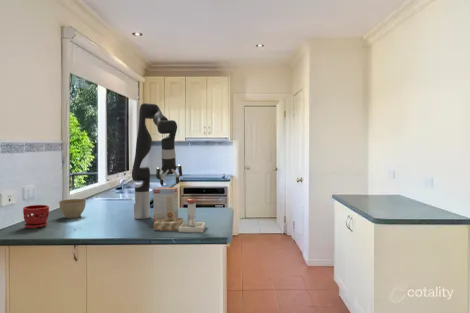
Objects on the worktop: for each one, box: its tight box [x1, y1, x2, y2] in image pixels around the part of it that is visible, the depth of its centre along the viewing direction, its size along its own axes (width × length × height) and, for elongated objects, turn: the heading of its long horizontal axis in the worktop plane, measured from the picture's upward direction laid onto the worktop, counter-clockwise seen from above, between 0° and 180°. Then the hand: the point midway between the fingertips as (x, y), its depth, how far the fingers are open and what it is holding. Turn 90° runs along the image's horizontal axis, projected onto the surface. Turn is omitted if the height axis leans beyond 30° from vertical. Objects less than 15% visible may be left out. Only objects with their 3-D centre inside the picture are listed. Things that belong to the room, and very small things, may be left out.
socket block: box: [153, 217, 184, 231], centre depth 201 cm, size 14×14×4 cm
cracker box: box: [153, 186, 179, 223], centre depth 217 cm, size 14×6×21 cm, turn 74°
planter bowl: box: [58, 198, 87, 219], centre depth 233 cm, size 16×16×11 cm
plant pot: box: [22, 204, 50, 229], centre depth 205 cm, size 13×13×12 cm
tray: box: [178, 221, 206, 233], centre depth 196 cm, size 13×13×2 cm
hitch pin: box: [186, 198, 198, 227], centre depth 196 cm, size 6×6×16 cm
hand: (169, 184), depth 198 cm, fingers open, 8 cm apart
